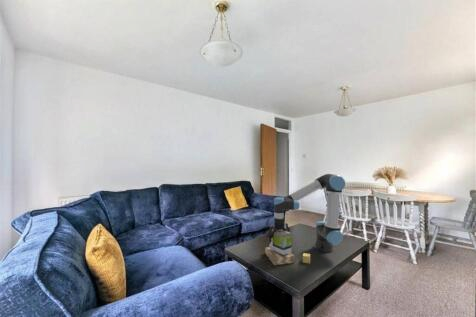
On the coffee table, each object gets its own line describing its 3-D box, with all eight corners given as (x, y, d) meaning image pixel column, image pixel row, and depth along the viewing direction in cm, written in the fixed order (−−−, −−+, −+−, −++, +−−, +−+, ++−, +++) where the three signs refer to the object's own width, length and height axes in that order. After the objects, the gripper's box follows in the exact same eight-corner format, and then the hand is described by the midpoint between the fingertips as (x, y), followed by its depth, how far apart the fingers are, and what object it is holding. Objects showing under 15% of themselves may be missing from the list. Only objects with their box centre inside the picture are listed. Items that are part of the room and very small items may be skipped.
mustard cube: (310, 260, 156) (310, 254, 156) (309, 263, 151) (309, 256, 152) (303, 259, 158) (303, 252, 158) (302, 262, 153) (302, 255, 154)
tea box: (292, 251, 157) (291, 232, 157) (283, 255, 151) (283, 235, 151) (277, 245, 169) (277, 227, 169) (268, 248, 163) (268, 229, 163)
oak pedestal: (283, 251, 172) (283, 245, 172) (294, 262, 153) (294, 255, 153) (265, 253, 168) (265, 247, 168) (274, 265, 150) (274, 258, 150)
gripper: (291, 215, 167) (291, 241, 167) (262, 217, 162) (262, 244, 162) (295, 217, 160) (295, 245, 160) (266, 220, 154) (266, 248, 154)
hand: (279, 245), depth 161 cm, fingers closed on tea box, 12 cm apart
